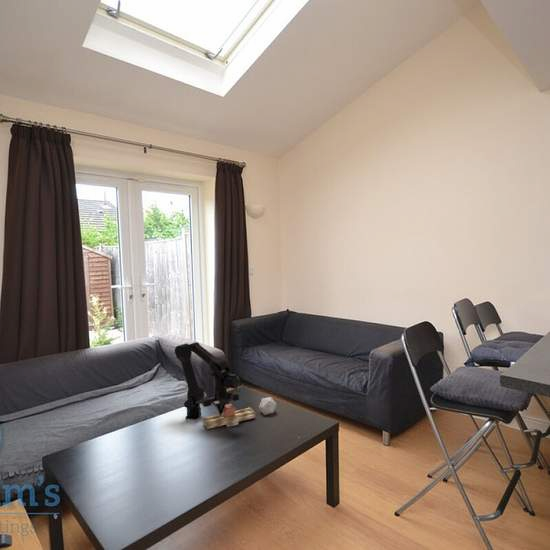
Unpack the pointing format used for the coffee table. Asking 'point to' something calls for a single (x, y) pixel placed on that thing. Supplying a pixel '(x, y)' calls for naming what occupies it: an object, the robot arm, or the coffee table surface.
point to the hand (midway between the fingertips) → (220, 415)
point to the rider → (229, 410)
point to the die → (267, 405)
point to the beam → (229, 418)
